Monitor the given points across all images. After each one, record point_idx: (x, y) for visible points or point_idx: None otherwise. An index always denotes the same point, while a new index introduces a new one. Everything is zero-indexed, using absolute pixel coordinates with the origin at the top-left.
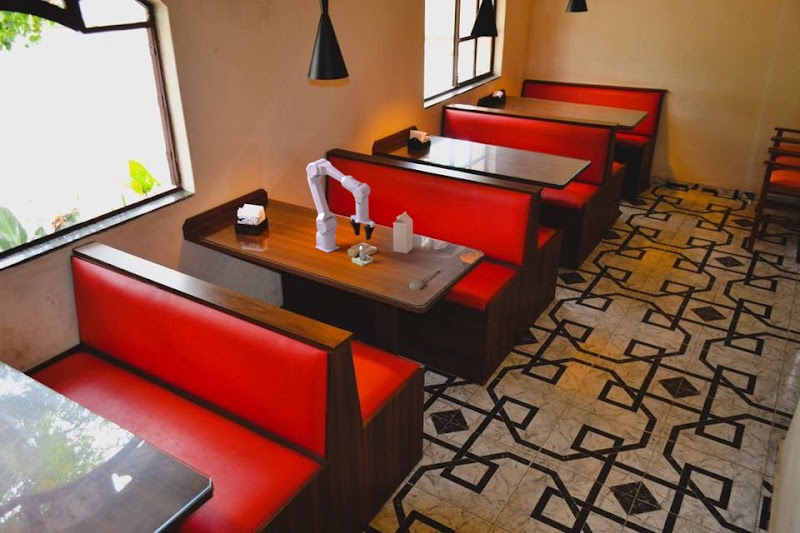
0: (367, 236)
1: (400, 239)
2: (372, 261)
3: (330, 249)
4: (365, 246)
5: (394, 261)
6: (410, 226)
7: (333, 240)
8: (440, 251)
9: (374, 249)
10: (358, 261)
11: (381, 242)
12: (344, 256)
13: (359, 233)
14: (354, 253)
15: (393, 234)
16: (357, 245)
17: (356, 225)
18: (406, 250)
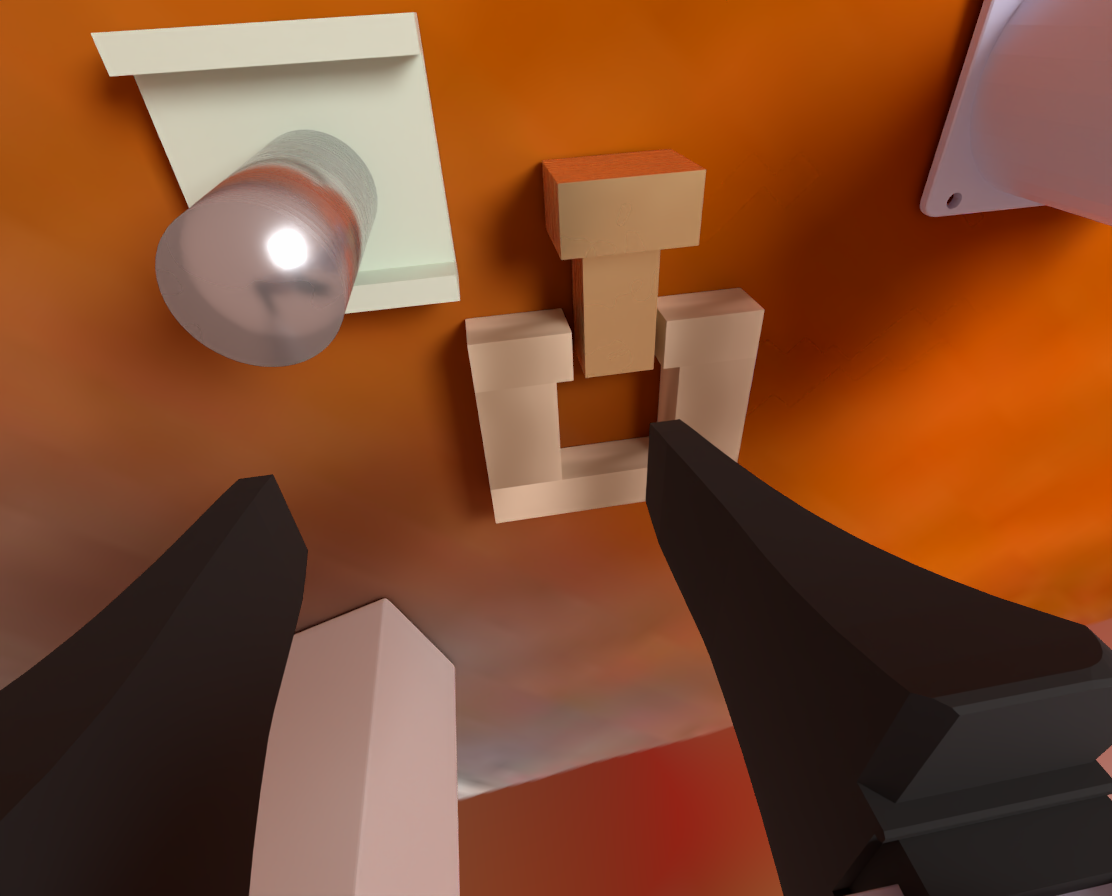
0: (168, 559)
1: (286, 771)
2: None
3: (1017, 20)
4: (203, 328)
5: (117, 497)
6: None
7: (1110, 119)
8: None
9: (490, 485)
10: (210, 25)
11: (632, 603)
12: (679, 68)
13: (655, 521)
14: (551, 200)
15: (365, 794)
16: (721, 396)
17: (779, 678)
18: None
